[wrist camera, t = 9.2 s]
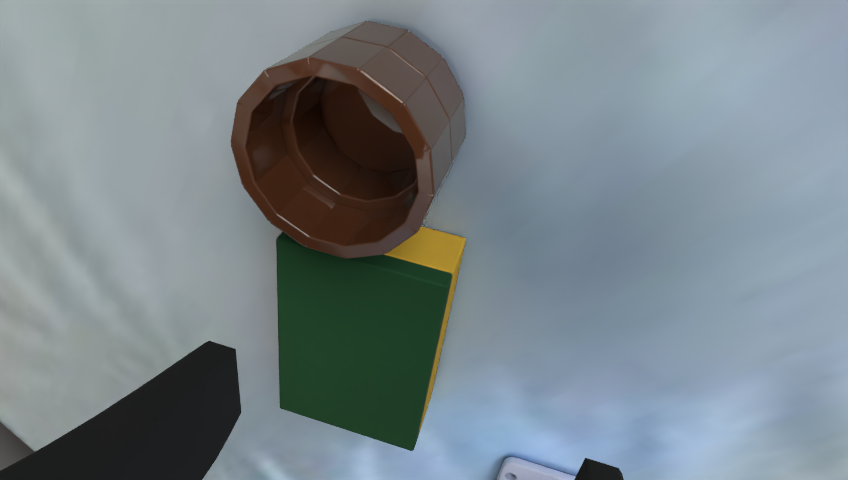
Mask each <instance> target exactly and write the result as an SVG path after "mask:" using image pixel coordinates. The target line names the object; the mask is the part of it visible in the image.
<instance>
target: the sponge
mask: <svg viewBox="0 0 848 480" xmlns="http://www.w3.org/2000/svg"><path fill="white" fill-rule="evenodd" d="M465 242H466V239H465V238H463V237H460V236H456V235H452V234H448V233H445V232H441V231H437V230H433V229H430V228H426V227H422V226H421V227H420V229H419V231H418V232H417V233H416V234H415V235H413V236H412V237H410V238H409V239H407V240H406V241H405V242H403V243H402V244H400V245H399V246H397V247H396V248H394V249H393V250H391V251H390V252H388V253H386V254H383V255H375V256H366V257H358V258H350V259H347V258H341V257H338V256H334V255H331V254H327V253H324V252H320V251H316V250H313V249H309V248H307V247H304V246H303V245H301V244H300V243H299V242H297V241H296V240H294V239H293V238H291V237H290V236H289V235H287V234H286V233H284V232H282V233H281V234H280V235H279V237H278V238H277V240H276V247H277V293H278V339H279V385H280V408H281V409H284V410H287V411H290V412H293V413H297V414H300V415H303V416H306V417H309V418H312V419H315V420H318V421H321V422H324V423H327V424H330V425H333V426H336V427H340V428H343V429H346V430H349V431H352V432H355V433H358V434H361V435H364V436H367V437H370V438H373V439H376V440H380V441H383V442H386V443H389V444H392V445H395V446H398V447H401V448H404V449H407V450H410V451H413V450H414V447H415V444H416V441H417V438H418V434H419V432H420V429H421V426H422V423H423V420H424V417H425V414H426V411H427V408H428V404H429V401H430V398H431V394H432V390H433V385H434V381H435V376H436V372H437V367H438V363H439V359H440V354H441V350H442V345H443V341H444V336H445V332H446V327H447V323H448V318H449V314H450V309H451V305H452V300H453V296H454V291H455V287H456V282H457V278H458V273H459V269H460V264H461V260H462V255H463V251H464V246H465Z"/></svg>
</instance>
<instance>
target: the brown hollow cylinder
mask: <svg viewBox="0 0 848 480" xmlns="http://www.w3.org/2000/svg"><path fill="white" fill-rule="evenodd" d="M465 135H466V128H465V104H464V96H463V93H462V91H461V89H460V87H459V85H458V83H457V81H456V79H455V77H454V76H453V74H452V72H451V70H450V68H449V66H448V64H447V62H446V60H445V59H444V58H442V56H441V55H440V54H438V53H437V52H436V51H435V50H433V49H432V48H431V47H429V46H428V45H427V44H426V43H424V42H423V41H422V40H421V39H419V38H418V37H417V36H415V35H414V34H413V33H412V32H408V30H407V29H403V28H398V27H393V26H389V25H384V24H380V23H375V22H370V21H368V22H367V21H365V22H361V23H358V24H355V25H351V26H348V27H345V28H341V29H338V30H335V31H331V32H330V33H328V34H326V35H324V36H323V37H321V38H319V39H317V40H316V41H314V42H312V43H310V44H309V45H307V46H305V47H303V48H302V49H300V50H298V51H297V52H295V53H293V54H291V55H290V56H288V57H286V58H284V59H283V60H281V61H279V62H277V63H276V64H274V65H272V66H270V67H269V68H267V69H266V70H264V71H263V72H262V73H261V74H260V75H259V77H258V78H257V79H256V80H255V81H254V82H253V84H252V85H251V86H250V87H249V88H248V89H247V91H246V92H245V93H244V94H243V95H242V96H241V97H240V99H239V100H238V102H237V107H236V113H235V119H234V125H233V131H232V137H231V147H232V151H233V154H234V158H235V161H236V165H237V168H238V172H239V175H240V179H241V182H242V185H243V187H244V188H245V190H246V191H247V192H248V194H249V195H250V197H251V198H252V199H253V201H254V202H255V203H256V205H257V206H258V207H259V209H260V210H261V211H262V213H263V214H264V216H265V217H266V218H267V220H268V221H270V223H271V224H273V225H274V226H276V227H277V228H279V229H280V230H281V231H283V232H284V233H286V234H287V235H289V236H290V237H291V238H293V239H294V240H296V241H297V242H299V243H300V244H301V245H303V246H304V247H307V248H309V249H313V250H316V251H320V252H324V253H327V254H331V255H334V256H338V257H341V258H347V259H350V258H358V257H366V256H375V255H383V254H386V253H388V252H390V251H391V250H393V249H394V248H396V247H397V246H399V245H400V244H402V243H403V242H405V241H406V240H407V239H409V238H410V237H412V236H413V235H415V234H416V233H417V232H418V231H419V229H420V227H421V226H422V224H423V222H424V220H425V218H426V216H427V214H428V212H429V210H430V208H431V206H432V204H433V202H434V200H435V198H436V196H437V194H438V192H439V190H440V189H441V187H442V185H443V183H444V181H445V179H446V177H447V175H448V173H449V171H450V169H451V167H452V165H453V163H454V161H455V158H456V156H457V154H458V152H459V150H460V148H461V145H462V143H463V141H464V139H465Z"/></svg>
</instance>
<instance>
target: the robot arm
mask: <svg viewBox="0 0 848 480" xmlns="http://www.w3.org/2000/svg"><path fill="white" fill-rule="evenodd" d="M240 414H241V404H240V393H239V382H238V371H237V360H236V349H233V348H230V347H227V346H224V345H221V344H217V343H214V342H211V341H208V342H206V343H204V344H203V345H201V346H200V347H198V348H197V349H195V350H194V351H192V352H191V353H189V354H188V355H187V356H185V357H184V358H182V359H181V360H179V361H178V362H176V363H175V364H173V365H172V366H171V367H169V368H168V369H166V370H165V371H163V372H162V373H160V374H159V375H157V376H156V377H154V378H153V379H151V380H150V381H148V382H147V383H146V384H144V385H143V386H141V387H140V388H138V389H137V390H135V391H133V392H132V393H130V394H129V395H127V396H126V397H124V398H123V399H121V400H120V401H118V402H117V403H115V404H113V405H112V406H110V407H109V408H107V409H106V410H104V411H103V412H101V413H100V414H98V415H96V416H95V417H93V418H92V419H90V420H88V421H87V422H85V423H83V424H82V425H80V426H78V427H77V428H75V429H73V430H72V431H70V432H68V433H67V434H65V435H63V436H62V437H60V438H58V439H57V440H55V441H53V442H52V443H50V444H48V445H46V446H45V447H43V448H41V449H39V450H38V451H36V452H34V453H33V454H31V455H29V456H27V457H25V458H23V459H21V460H20V461H18V462H16V463H14V464H12V465H10V466H9V467H7V468H5V469H3V470H1V471H0V480H202V479H203V478H204V476H205V475H206V473H207V472H208V470H209V469H210V467H211V466H212V464H213V463H214V461H215V460H216V458H217V457H218V455H219V453H220V451H221V449H222V448H223V446H224V444H225V442H226V440H227V439H228V437H229V435H230V433H231V431H232V429H233V427H234V425H235V423H236V422H237V420H238V418H239V416H240ZM497 480H623V476H622V473H621V471H620V470H619V468H616V467H613V466H610V465H606V464H603V463H600V462H597V461H594V460H590V459H587V458H585V460H584V462H583V464H582V466H581V468H580V470H579V472H578V474H577V476H573V475H569V474H566V473H563V472H560V471H557V470H554V469H551V468H547V467H544V466H541V465H538V464H535V463H532V462H529V461H525V460H522V459H519V458H516V457H508V458H506V459H505V460H504V461H503V464H502V467H501V469H500V472H499V475H498V477H497Z"/></svg>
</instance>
